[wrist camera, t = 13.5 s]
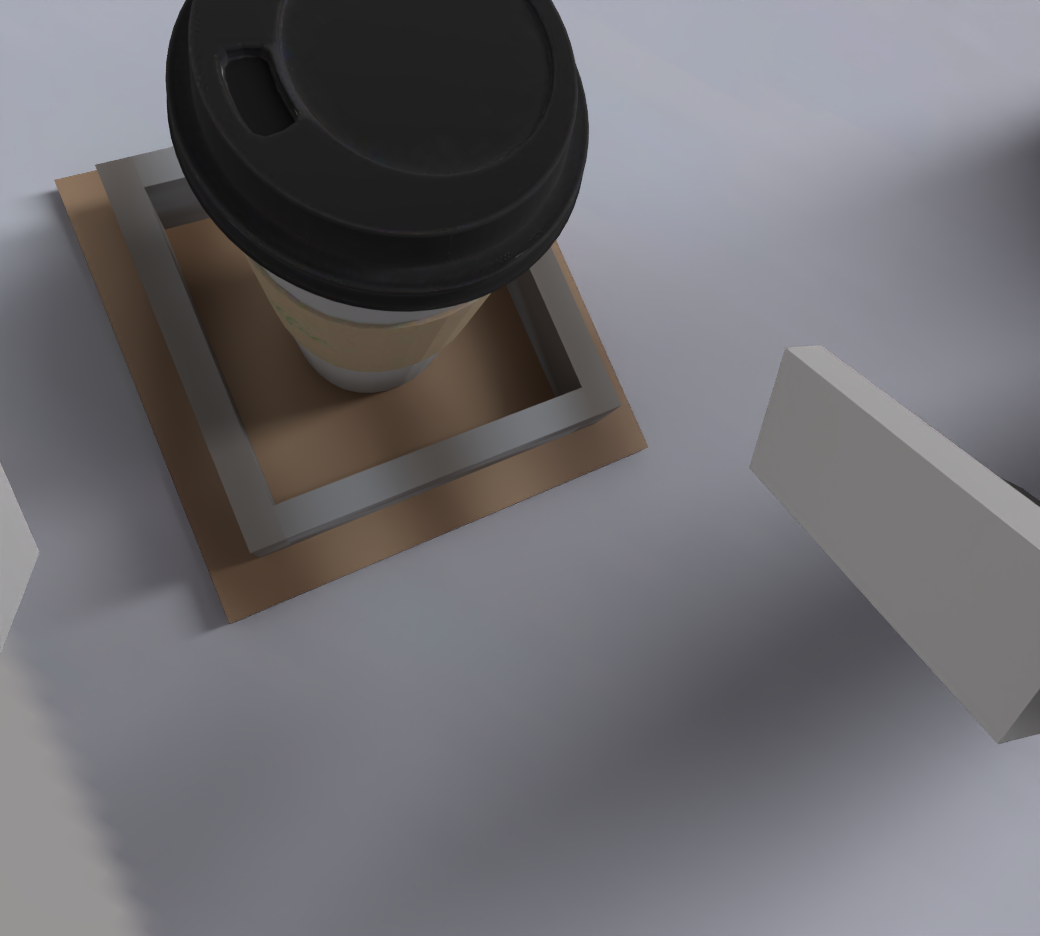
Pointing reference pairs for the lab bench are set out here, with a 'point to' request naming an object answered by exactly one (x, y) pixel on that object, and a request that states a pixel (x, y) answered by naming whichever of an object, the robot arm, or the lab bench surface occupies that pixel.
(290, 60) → the coffee cup
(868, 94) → the lab bench surface
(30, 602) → the lab bench surface
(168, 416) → the square rimmed tray
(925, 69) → the lab bench surface
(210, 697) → the lab bench surface
